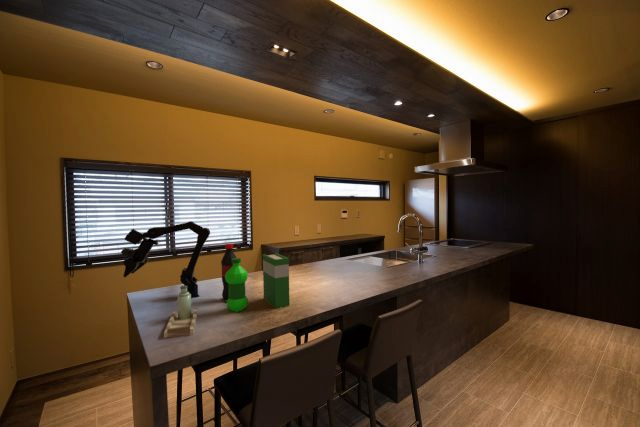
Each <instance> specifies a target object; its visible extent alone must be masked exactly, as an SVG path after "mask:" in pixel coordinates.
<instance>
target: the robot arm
mask: <svg viewBox="0 0 640 427" xmlns="http://www.w3.org/2000/svg"><path fill="white" fill-rule="evenodd" d="M185 230H190V231H192V232H193V233H195V234H197V238H196V244H195V246H194V249H193V251H192V254H191V257H190V259H189V262H188V264H187V267H184V268H182V270H181V274H180V276H179V278H180V279H179V280H180V283H181V284H182V285H183V286H188V288H187V292H189V293H190V294H191V299H192V298H197V297H200V295H199V285H198V284H197V282H198V279H197V277H195V276H194V275H195V269H196V268H195V267H196V266H197V263H198V260H199V258H200V255H201V252H202V250H203V247H204V244H205V243H206V242H207V240H208V238H209V237H210V236H211V230H210V228H208V227H202V226H201V225H199V224H197V223H195V222H194V221H193V220H192V221H191V220H190V221H188V222H183V223H178V224H174V225H170V226H154V227H151V228H148V229H147V231H145V232H140V231H138V230H136V229H134V228H132V229H131V230H130V231H129V232H128V233H127V234H126V235H125V237H124V241H126V242H128V243H130V244H132V245H135V246H136V245H139V246H138V247H137V248H125V247H124V248H123V249H122V250H121V251H120V253H121V256H123V257H124V256H127V257H128V256H129V257H128V258H125V259H124V260H123V261H122V264H123V265H124V267H125V268H124V273H123V276H122V277H124V278H127V277H128V276H129V275H131V274H134V273H137V271H138V270H140V269H141V268H143V267H144V266H146V264H147V263H149V260H150V258H149V257H148V255H150V253H151V250H152V249H153V247H154V245H155V246H158V245H159V244H160V243H159V241H158V239H157V238H160V237H162V236H165V235H167V234H171V233H176V232H181V231H185ZM155 239H156V240H155Z"/></svg>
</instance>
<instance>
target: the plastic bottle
mask: <svg viewBox="0 0 640 427" xmlns="http://www.w3.org/2000/svg"><path fill="white" fill-rule="evenodd" d="M232 263H233V266H232V267H231V268H230V269H229V270H228V271H227V272H226V275H225V280H226V282H227V283H228V296H229V298H228V300H227V301H226V306H227V308H228V309H229V310H230V311H232V312H236V313H240V312H242V311H243V310H244V309H245V308H246V307H247V305H248V303H249V302H248V298H247V295H246V281H247V279H248V275H249V274H248V271H247V269H245V268H244V267H243V266H241V263H242V260H241V257H236V258H233V259H232ZM239 311H240V312H239Z"/></svg>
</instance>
